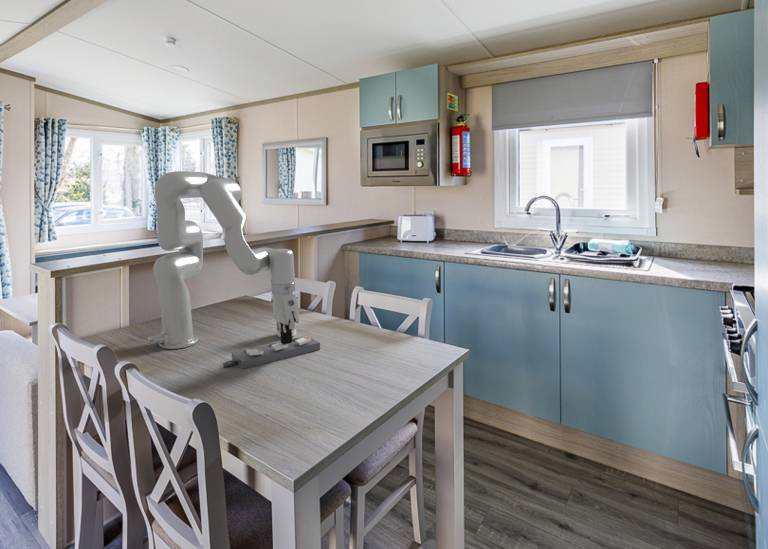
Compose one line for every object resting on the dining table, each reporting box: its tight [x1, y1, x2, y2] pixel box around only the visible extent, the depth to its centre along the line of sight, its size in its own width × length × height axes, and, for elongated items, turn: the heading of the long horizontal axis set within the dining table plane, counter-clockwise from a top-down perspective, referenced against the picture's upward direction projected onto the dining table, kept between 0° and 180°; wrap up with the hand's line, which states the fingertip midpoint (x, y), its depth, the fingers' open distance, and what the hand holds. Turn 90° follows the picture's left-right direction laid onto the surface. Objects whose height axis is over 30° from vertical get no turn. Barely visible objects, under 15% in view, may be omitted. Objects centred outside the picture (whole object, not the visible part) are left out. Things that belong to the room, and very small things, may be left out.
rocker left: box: [245, 348, 264, 355], centre depth 142 cm, size 4×3×1 cm
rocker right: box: [295, 335, 312, 345], centre depth 152 cm, size 4×3×1 cm
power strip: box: [222, 335, 321, 370], centre depth 148 cm, size 31×9×3 cm, turn 127°
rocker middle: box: [271, 342, 288, 351], centre depth 147 cm, size 4×3×1 cm
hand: (286, 342), depth 148 cm, fingers closed
